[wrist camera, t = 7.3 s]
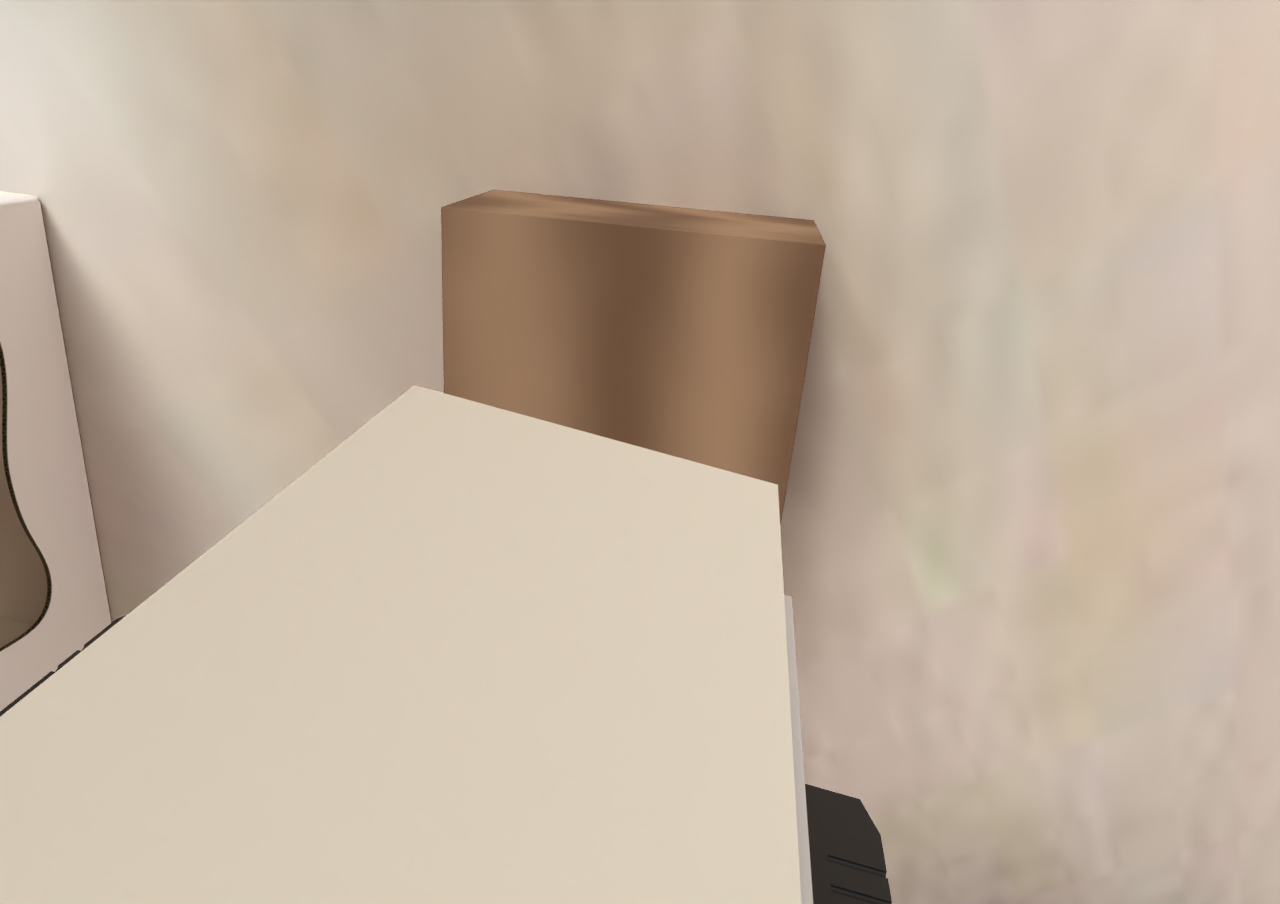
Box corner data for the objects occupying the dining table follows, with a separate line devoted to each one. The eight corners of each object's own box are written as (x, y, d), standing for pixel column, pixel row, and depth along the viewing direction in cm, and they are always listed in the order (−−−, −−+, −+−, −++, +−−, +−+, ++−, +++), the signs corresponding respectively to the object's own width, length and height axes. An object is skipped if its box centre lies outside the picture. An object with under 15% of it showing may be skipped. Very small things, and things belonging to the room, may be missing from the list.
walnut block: (492, 475, 37) (446, 541, 31) (495, 188, 32) (441, 207, 27) (768, 509, 36) (770, 584, 30) (813, 219, 31) (825, 245, 26)
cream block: (372, 679, 16) (-160, 1468, 7) (414, 385, 13) (-323, 976, 4) (681, 767, 16) (574, 1699, 6) (778, 484, 13) (824, 1320, 4)
